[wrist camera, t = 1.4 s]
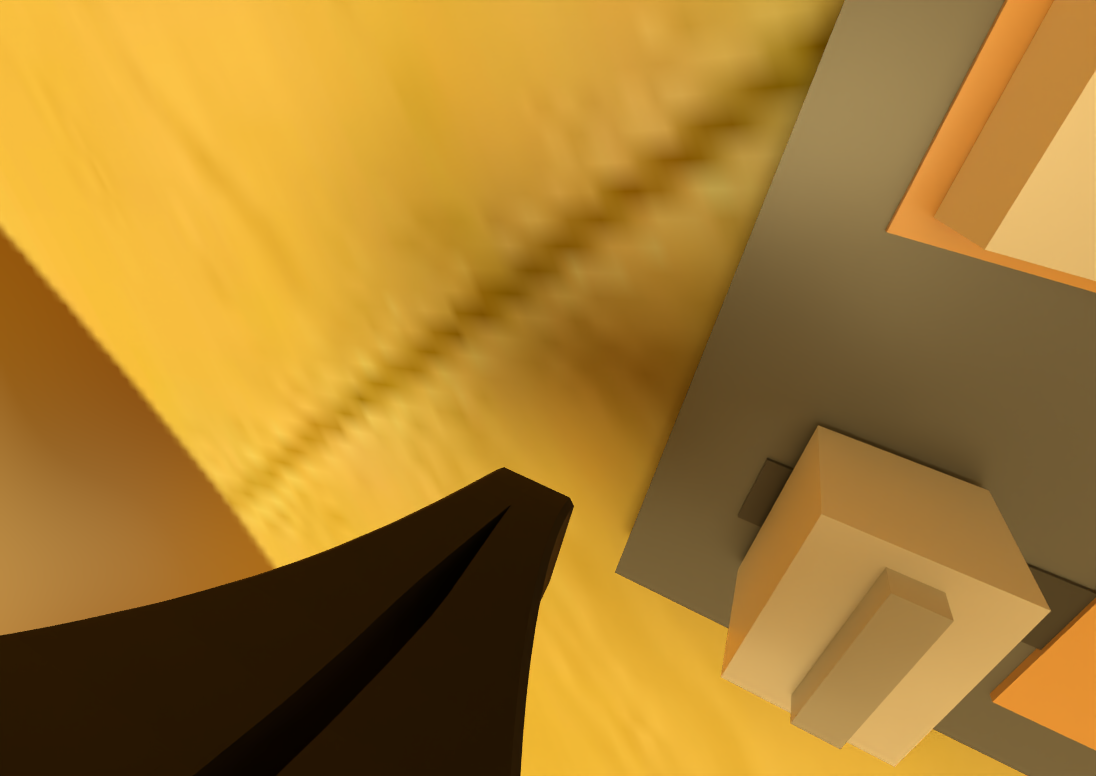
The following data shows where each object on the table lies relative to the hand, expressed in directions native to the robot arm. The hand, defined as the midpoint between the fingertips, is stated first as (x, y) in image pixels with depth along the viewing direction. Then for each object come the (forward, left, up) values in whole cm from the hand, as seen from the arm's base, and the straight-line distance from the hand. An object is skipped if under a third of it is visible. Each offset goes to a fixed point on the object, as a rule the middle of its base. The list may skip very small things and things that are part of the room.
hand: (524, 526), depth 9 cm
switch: (-6, 0, -4) cm, 7 cm away
